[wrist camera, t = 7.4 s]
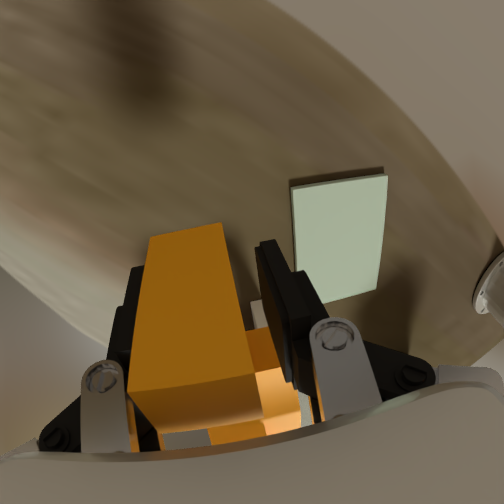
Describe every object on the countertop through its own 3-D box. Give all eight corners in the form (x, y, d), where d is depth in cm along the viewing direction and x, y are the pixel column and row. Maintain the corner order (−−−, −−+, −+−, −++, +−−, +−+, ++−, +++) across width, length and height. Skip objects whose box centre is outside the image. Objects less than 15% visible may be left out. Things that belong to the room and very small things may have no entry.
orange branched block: (286, 395, 18) (316, 490, 12) (216, 410, 17) (231, 507, 12) (270, 213, 11) (342, 350, 6) (150, 237, 11) (127, 392, 5)
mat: (384, 173, 26) (387, 175, 26) (373, 285, 33) (375, 289, 33) (290, 187, 25) (292, 189, 25) (296, 305, 32) (298, 309, 32)
